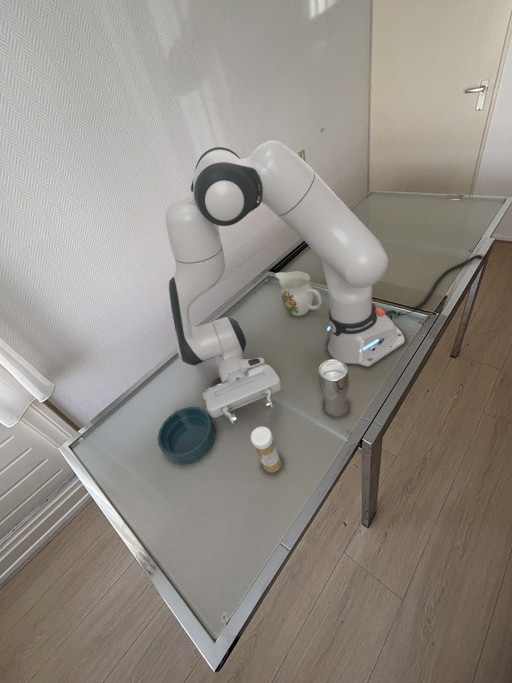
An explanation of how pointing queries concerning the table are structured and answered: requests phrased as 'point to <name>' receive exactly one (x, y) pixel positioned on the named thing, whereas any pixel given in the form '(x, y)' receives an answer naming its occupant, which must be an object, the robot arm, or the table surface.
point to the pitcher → (297, 292)
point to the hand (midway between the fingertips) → (252, 414)
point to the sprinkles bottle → (266, 448)
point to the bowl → (187, 435)
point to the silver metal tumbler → (334, 386)
